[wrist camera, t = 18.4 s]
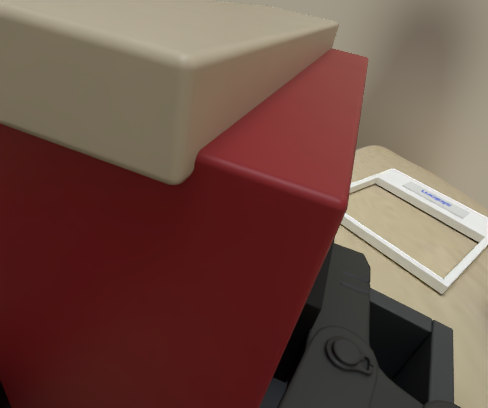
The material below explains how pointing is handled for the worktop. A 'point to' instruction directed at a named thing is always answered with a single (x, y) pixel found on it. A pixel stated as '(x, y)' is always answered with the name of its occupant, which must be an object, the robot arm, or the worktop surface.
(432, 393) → the bin
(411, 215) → the worktop surface
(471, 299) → the worktop surface
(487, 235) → the photo frame
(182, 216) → the block
